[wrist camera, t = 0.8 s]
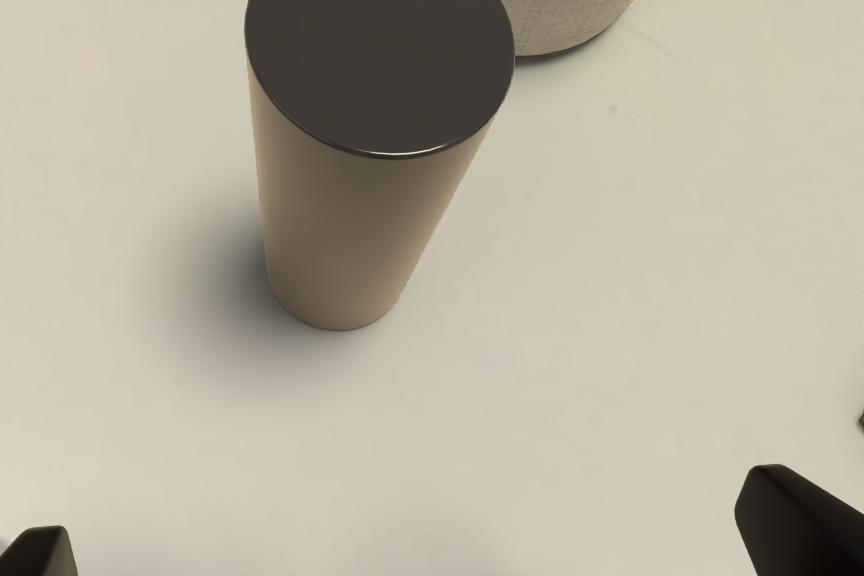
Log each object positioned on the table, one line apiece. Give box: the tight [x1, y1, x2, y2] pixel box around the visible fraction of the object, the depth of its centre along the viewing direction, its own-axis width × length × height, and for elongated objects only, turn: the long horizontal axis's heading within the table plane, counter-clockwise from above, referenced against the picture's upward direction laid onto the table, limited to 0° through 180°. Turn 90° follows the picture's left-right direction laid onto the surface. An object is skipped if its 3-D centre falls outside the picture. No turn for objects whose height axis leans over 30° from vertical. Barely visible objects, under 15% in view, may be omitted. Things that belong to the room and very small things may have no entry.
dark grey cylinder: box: [244, 0, 515, 331], centre depth 19 cm, size 5×5×13 cm
